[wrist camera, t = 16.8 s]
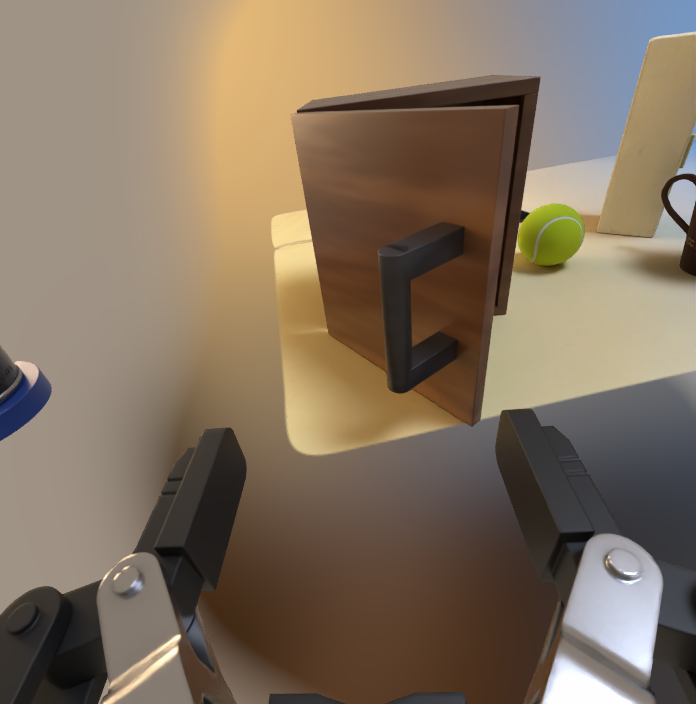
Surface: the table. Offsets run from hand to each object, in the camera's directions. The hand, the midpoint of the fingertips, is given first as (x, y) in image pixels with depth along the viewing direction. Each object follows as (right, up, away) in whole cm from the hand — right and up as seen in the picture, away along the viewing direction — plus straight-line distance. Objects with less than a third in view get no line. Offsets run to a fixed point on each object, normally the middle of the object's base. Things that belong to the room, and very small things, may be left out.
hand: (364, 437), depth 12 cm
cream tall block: (+39, +20, +42) cm, 61 cm away
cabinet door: (+1, 0, +21) cm, 21 cm away
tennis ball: (+24, +13, +36) cm, 45 cm away
